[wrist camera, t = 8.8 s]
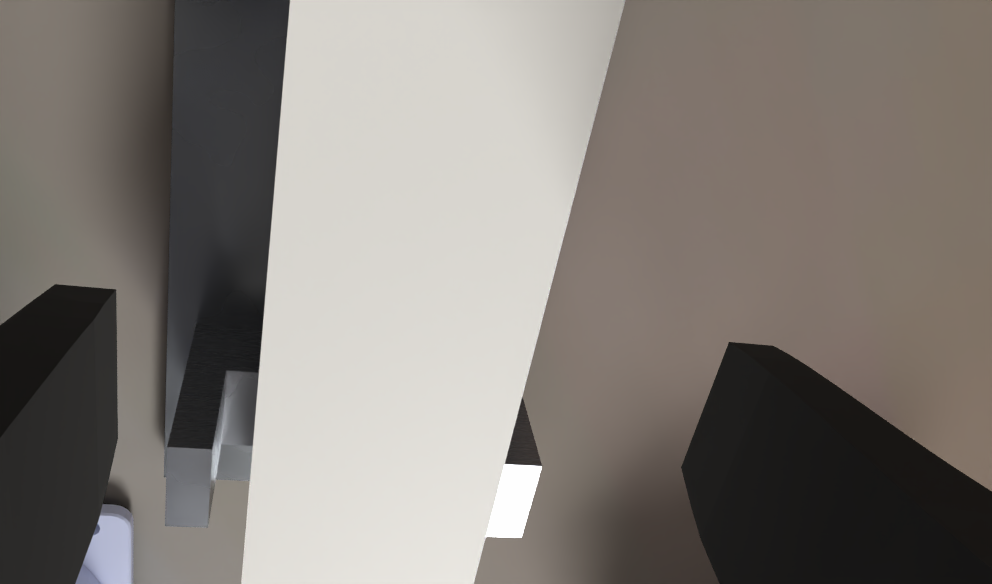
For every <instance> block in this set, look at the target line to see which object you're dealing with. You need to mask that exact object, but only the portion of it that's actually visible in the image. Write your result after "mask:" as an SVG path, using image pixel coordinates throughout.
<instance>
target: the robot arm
mask: <svg viewBox="0 0 992 584" xmlns="http://www.w3.org/2000/svg"><path fill="white" fill-rule="evenodd" d="M117 439H118V415H117V324H116V290H115V289H103V288H92V287H80V286H68V285H57V284H55V285H54V286H52V287H51V288H50V289H48V290H47V291H45V292H44V293H43V294H41V295H40V296H39V297H37V298H36V299H34V300H33V301H32V302H30V303H29V304H28V305H26V306H25V307H24V308H22V309H21V310H20V311H19V312H17V313H16V314H15V315H13V316H12V317H11V318H9V319H8V320H7V321H6V322H4V323H3V324H2V325H0V584H133V516H132V514H131V513H130V512H129V510H128V509H126V508H124V507H122V506H119V505H113V504H103V501H104V496H105V492H106V488H107V484H108V480H109V475H110V471H111V466H112V462H113V457H114V453H115V448H116V444H117ZM681 468H682V472H683V476H684V480H685V484H686V488H687V492H688V496H689V500H690V504H691V507H692V511H693V514H694V518H695V521H696V524H697V528H698V531H699V534H700V538H701V540H702V543H703V545H704V548H705V550H706V553H707V555H708V557H709V560H710V562H711V564H712V567H713V569H714V571H715V574H716V576H717V578H718V581H719V583H720V584H992V491H990V490H988V489H987V488H985V487H984V486H982V485H981V484H979V483H978V482H976V481H974V480H973V479H971V478H970V477H968V476H967V475H965V474H963V473H962V472H960V471H959V470H957V469H956V468H954V467H953V466H951V465H950V464H948V463H947V462H945V461H944V460H942V459H941V458H939V457H938V456H936V455H935V454H933V453H932V452H930V451H929V450H927V449H926V448H925V447H923V446H922V445H920V444H919V443H917V442H916V441H914V440H913V439H912V438H910V437H909V436H907V435H906V434H904V433H903V432H901V431H900V430H899V429H897V428H896V427H894V426H893V425H891V424H890V423H889V422H887V421H886V420H884V419H883V418H882V417H880V416H879V415H877V414H876V413H874V412H873V411H872V410H870V409H869V408H867V407H866V406H865V405H863V404H862V403H860V402H859V401H857V400H856V399H855V398H853V397H852V396H850V395H849V394H847V393H846V392H845V391H843V390H842V389H840V388H839V387H838V386H836V385H835V384H833V383H832V382H830V381H829V380H827V379H826V378H824V377H823V376H822V375H820V374H819V373H817V372H816V371H814V370H813V369H811V368H810V367H808V366H807V365H805V364H803V363H802V362H800V361H799V360H797V359H795V358H794V357H792V356H791V355H789V354H787V353H785V352H784V351H782V350H780V349H778V348H776V347H774V346H768V345H757V344H745V343H733V342H729V344H728V346H727V349H726V352H725V354H724V357H723V359H722V362H721V365H720V367H719V370H718V373H717V375H716V378H715V380H714V383H713V386H712V388H711V391H710V394H709V396H708V399H707V401H706V404H705V407H704V409H703V412H702V414H701V417H700V420H699V422H698V425H697V428H696V430H695V433H694V435H693V438H692V441H691V443H690V446H689V448H688V451H687V454H686V456H685V459H684V462H683V464H682V467H681Z"/></svg>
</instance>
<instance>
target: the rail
mask: <svg viewBox="0 0 992 584" xmlns="http://www.w3.org/2000/svg"><path fill="white" fill-rule="evenodd" d="M624 3H625V0H290V7H289V19H288V31H287V43H286V55H285V67H284V79H283V91H282V103H281V115H280V127H279V139H278V151H277V163H276V175H275V187H274V199H273V210H272V222H271V234H270V246H269V258H268V270H267V282H266V294H265V306H264V318H263V330H262V342H261V354H260V366H259V378H258V390H257V402H256V414H255V426H254V438H253V450H252V462H251V474H250V486H249V498H248V510H247V522H246V534H245V546H244V558H243V570H242V582H241V584H474V580H475V576H476V573H477V569H478V565H479V561H480V557H481V553H482V549H483V546H484V542H485V538H486V534H487V530H488V526H489V523H490V519H491V515H492V511H493V507H494V503H495V499H496V496H497V492H498V488H499V484H500V480H501V476H502V473H503V469H504V465H505V461H506V457H507V453H508V449H509V446H510V442H511V438H512V434H513V430H514V426H515V423H516V419H517V415H518V411H519V407H520V403H521V399H522V396H523V392H524V388H525V384H526V380H527V376H528V373H529V369H530V365H531V361H532V357H533V353H534V349H535V346H536V342H537V338H538V334H539V330H540V326H541V323H542V319H543V315H544V311H545V307H546V303H547V299H548V296H549V292H550V288H551V284H552V280H553V276H554V273H555V269H556V265H557V261H558V257H559V253H560V249H561V246H562V242H563V238H564V234H565V230H566V226H567V223H568V219H569V215H570V211H571V207H572V203H573V199H574V196H575V192H576V188H577V184H578V180H579V176H580V173H581V169H582V165H583V161H584V157H585V153H586V149H587V146H588V142H589V138H590V134H591V130H592V126H593V123H594V119H595V115H596V111H597V107H598V103H599V99H600V96H601V92H602V88H603V84H604V80H605V76H606V73H607V69H608V65H609V61H610V57H611V53H612V49H613V46H614V42H615V38H616V34H617V30H618V26H619V23H620V19H621V15H622V11H623V7H624Z"/></svg>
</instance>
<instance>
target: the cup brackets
mask: <svg viewBox="0 0 992 584" xmlns="http://www.w3.org/2000/svg"><path fill="white" fill-rule="evenodd" d="M289 7H290V0H175V22H174V66H173V109H172V152H171V196H170V239H169V282H168V326H167V369H166V412H165V456H164V477H166V511H165V526H177V527H207V528H208V524H209V518H210V511H211V505H212V499H213V493H214V487H215V481H216V480H239V481H250V474H251V462H252V450H253V438H254V426H255V414H256V402H257V390H258V378H259V366H260V354H261V342H262V330H263V318H264V306H265V294H266V282H267V270H268V258H269V246H270V234H271V222H272V210H273V199H274V187H275V175H276V163H277V151H278V139H279V127H280V115H281V103H282V91H283V79H284V67H285V55H286V43H287V31H288V19H289ZM541 468H542V465H541V461H540V457H539V454H538V450H537V447H536V443H535V440H534V436H533V433H532V429H531V425H530V422H529V418H528V415H527V411H526V408H525V404H524V400H523V397H522V399H521V403H520V407H519V411H518V415H517V419H516V423H515V426H514V430H513V434H512V438H511V442H510V446H509V449H508V453H507V457H506V461H505V465H504V469H503V473H502V476H501V480H500V484H499V488H498V492H497V496H496V499H495V503H494V507H493V511H492V515H491V519H490V523H489V526H488V530H487V534H486V537H513V538H522V534H523V531H524V527H525V524H526V520H527V517H528V513H529V510H530V506H531V503H532V499H533V496H534V492H535V489H536V485H537V482H538V478H539V475H540V471H541Z"/></svg>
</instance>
